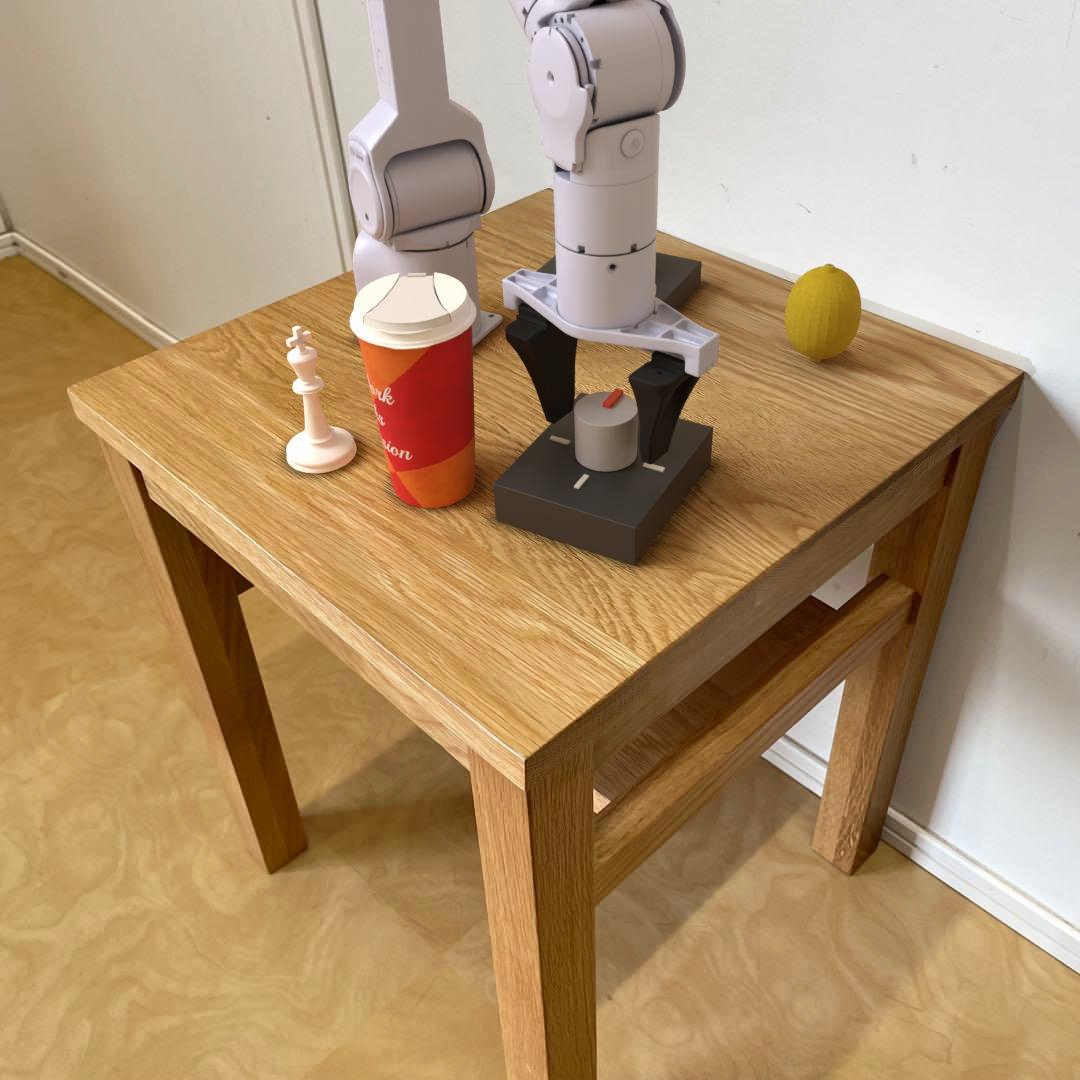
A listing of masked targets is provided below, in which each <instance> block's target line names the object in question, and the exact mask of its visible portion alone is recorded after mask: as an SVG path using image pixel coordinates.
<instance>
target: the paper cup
mask: <svg viewBox="0 0 1080 1080" xmlns="http://www.w3.org/2000/svg"><path fill="white" fill-rule="evenodd" d="M353 303H354V304H353V310H352V312H351V313H350V317H349V325H350V329H351V331H352V332H353V333H354V334H355V336H356V337H357V336H358V338H357V340H358V343H359V348H360V351H361V356H362V359H363V363H364V368H365V369H364V370H365V374H366V378H367V382H368V387H369V390H370V396H371V399H372V403H373V408H374V409H373V410H374V412H375V417H376V422H377V425H378V431H379V434H380V439H381V444H382V447H383V451H384V456H385V461H386V465H387V468H388V473H389V476H390V480H391V484H392V488H393V490H394V493H395V495H396V496H397V497H398V499H399V500H401V501H402V502H403V503H405V504H407V505H409V506H412V507H416V508H421V509H437V508H443V507H448V506H451V505H453V504H456V503H458V502H461V501H462V500H464V499H465V498H467V496H468V495H469V494H470V493H471V492H472V491H473V489H474V487H475V483H476V425H475V424H476V423H475V421H476V420H475V386H474V385H475V383H474V352H473V351H474V349H473V348H474V346H473V343H472V324H473V322H474V320H475V318H476V315H477V310H476V306H475V304H474V303H473V301H472V300H471V298H470V297H469V295H468V292H467V289H466V288H465V286H464V285H463V284H462V283H461V282H460V281H459V280H457V279H455V278H453V277H451V276H448V275H445V274H441V273H436V272H435V273H434V279H433V275H429V276H426V273H408V276H400V273H397V274H393V275H389V276H385V277H383V278H380V279H377V280H375V281H373V282H371V283H370V284H368V285H366V286H365V287H364V288H363V289H361V291H360V292H359V293H358V295H357V294H356V297H355V298H354V302H353Z"/></svg>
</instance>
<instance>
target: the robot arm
mask: <svg viewBox="0 0 1080 1080" xmlns="http://www.w3.org/2000/svg"><path fill="white" fill-rule="evenodd" d="M507 1H508V3H509V6H510V7H511V9H512V11H513V13H514V15H515V17H516V19H517V21H518V23H519V25H520V28H521V29H522V31H523V33H524V35H525V37H526V39H527V40H528V42H529V44H530V51H529V60H526V71H527V73H526V74H527V80H528V83H529V84H528V85H529V89H530V93H531V96H532V100H533V102H534V106H535V108H536V111H537V114H538V118H539V123H540V137H541V146H543V148H544V154H545V157H546V158H547V159H549V160H550V161H552V187H553V188H552V189H553V213H554V218H553V219H554V245H555V246H554V247H555V248H554V249H555V255H556V275H554V274H547V273H540V272H536V271H537V270H536V271H534V270H531V269H528V268H524V267H522V268H519V269H518V270H515V272H513V273H511V274H509V275H508V276H506V277H504V278H502V295H503V296H502V297H503V307H504V308H506V309H508V310H511V311H514V312H518V313H517V314H516V315H515V316H516V319H515V320H513V321H512V322H509V323H508V324H507V325H506V326H505V328H504V335H505V340H506V341H507V343H508V344H509V345H510V346H511V347H512V348H513V350H514V351H515V353H516V354H517V356H518V357H519V359H520V361H521V363H522V364H523V365H524V367H525V369H526V371H527V373H528V375H529V377H530V379H531V382H532V384H533V387H534V389H535V392H536V395H537V398H538V401H539V403H540V407H541V409H542V412H543V415H544V417H545V420H546V422H548V423H550V424H551V423H552V424H555V423H556V422H557V421H559V420H560V419H561V418H563V417H564V416H566V415H567V414H568V413H570V412H571V411H573V406H574V399H575V398H576V358H577V349H578V342H579V340H581V341H586V342H592V343H598V344H605V345H612V346H613V345H614V346H621V347H628V348H635V349H638V350H641V351H643V352H646V353H649V354H651V359H650V361H647V362H644V364H642V365H641V366H640V367H638V368H637V369H635V370H633V372H631V373H630V374H629V375H628V383H629V385H630V388H631V390H632V393H633V397H634V399H635V400H634V401H635V402H636V404H637V408H638V414H639V423H640V439H639V444H640V455H641V460H642V461H643V462H645V463H647V464H653V463H654V462H656V461H657V460H658V459H659V458H660V457H662V456H663V455H664V454H665V453H666V452H668V451H669V447H670V443H671V440H672V436H673V433H674V430H675V427H676V424H677V421H678V419H679V418H680V416H681V414H682V411H683V409H684V408H685V405H686V403H687V401H688V399H689V397H690V395H691V394H692V392H693V390H694V388H695V387H696V384H697V383H698V381H699V380H700V378H701V377H702V376H703V375H704V374H706V373H708V372H709V371H711V370H712V369H713V367H715V366H716V365H717V364H718V363H719V352H720V351H719V350H720V338H721V335H720V333H718V332H715V331H712V330H711V329H708V328H705V327H704V326H701V325H699V324H698V323H696V322H694V321H693V320H691V319H690V318H688V317H687V316H686V315H684V314H683V313H681V312H679V311H678V310H675V309H673V308H672V307H670V306H669V305H667V304H666V303H664V302H663V301H661V300H660V299H658V298H657V297H655V295H656V284H655V269H656V252H657V233H658V204H659V203H658V202H659V201H658V200H659V198H658V197H659V171H660V170H659V168H660V167H659V166H660V136H661V135H660V134H661V129H660V128H661V116H660V114H659V113H661V112H664V111H667V110H670V109H671V108H672V107H673V106H675V104H676V103H677V101H678V100H679V98H680V96H681V94H682V91H683V88H684V84H685V79H686V72H687V70H686V69H687V59H686V57H687V56H686V48H685V42H684V38H683V34H682V31H681V28H680V25H679V23H678V20H677V18H676V16H675V13H674V10H673V8H672V5H671V4H670V3H669V2H668V0H507ZM365 4H366V11H367V17H368V19H367V20H368V26H369V31H370V33H369V34H370V40H371V48H372V55H373V60H374V61H373V62H374V68H375V76H376V81H377V89H378V97H379V99H378V101H377V102H376V104H375V105H374V106H373V107H372V108H371V109H370V110H369V112H367V113H366V115H364V116H363V118H362V119H360V121H359V122H358V123H357V124H356V125H355V126H354V127H353V128H352V129H351V131H350V132H349V133H348V135H347V139H348V144H347V149H348V158H349V170H348V178H347V180H348V181H347V182H348V190H349V196H350V200H351V203H352V207H353V209H354V213H355V215H356V216H355V217H356V218H357V220H358V222H359V224H360V226H361V230H360V232H359V233H358V235H357V237H356V240H355V242H354V245H353V250H352V251H353V252H352V270H353V271H352V272H353V277H354V283H355V289H356V296H357V295H358V293H359V292H360V291H361V289H363V288H364V287H365V286H366V285H368V284H370V283H371V282H373V281H375V280H377V279H380V278H383V277H385V276H389V275H393V274H397V273H400V276H408V273H426V276H429V275H433V279H434V273H435V272H436V273H441V274H445V275H448V276H451V277H453V278H455V279H457V280H459V281H460V282H461V283H462V284H463V285H464V286H465V288H466V289H467V292H468V295H469V297H470V298H471V300H472V301H473V303H474V304H475V306H476V310H477V315H476V318H475V320H474V322H473V324H472V343H473V347H475V346H476V345H477V344H479V343H480V342H481V341H482V340H483V339H484V338H486V336H488V335H489V334H490V333H491V332H492V331H493V330H495V328H497V327H498V326H499V325H500V324H502V322H503V315H501V314H498V313H494V312H489V311H485V310H481V302H480V301H481V299H480V289H479V276H478V264H477V263H478V262H477V253H476V252H477V250H476V239H475V231H477V230H480V229H482V227H483V223H482V216H483V215H485V214H487V213H488V212H489V210H490V209H491V207H492V205H493V201H494V198H495V193H496V178H495V172H494V167H493V164H492V160H491V157H490V155H489V153H488V149H487V144H486V139H485V131H484V127H483V124H482V122H481V121H480V119H479V118H478V117H477V116H476V115H475V114H474V113H473V112H472V111H471V110H469V109H468V108H467V107H465V106H464V105H462V104H460V103H458V102H456V101H454V100H453V99H451V98H450V94H449V92H450V91H449V82H448V74H447V72H448V71H447V64H446V54H445V44H444V35H443V25H442V17H441V8H440V7H441V6H440V0H365ZM356 337H357V339H358V336H357V335H356Z"/></svg>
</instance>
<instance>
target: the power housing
mask: <svg viewBox="0 0 1080 1080" xmlns="http://www.w3.org/2000/svg"><path fill="white" fill-rule="evenodd" d="M702 265H703V261H701V260H697V259H693V258H687V257H683V256H677V255H672V254H667V253H662V252H658V251H656V269H655V284H656V295H655V297H657V298H658V299H660V300H661V301H663V302H664V303H666V304H667V305H669V306H670V307H672V308H673V309H675V310H676V311H678V309H679V308H680V307H681V306H682V305H683V304H684V302H685V301H687V300H688V299H689V297H690V296H691V295H692V294H693V293H694V292H695V291H696V290H697V289H698V288H699V287H700V286H701V281H702ZM536 272H540V273H547V274H554V275H556V254H554V256H553V257H551V259H549V260H548V261H546V262H545V263H544V264H542V265H541V267H539V268H538V269H537V270H536Z"/></svg>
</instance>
